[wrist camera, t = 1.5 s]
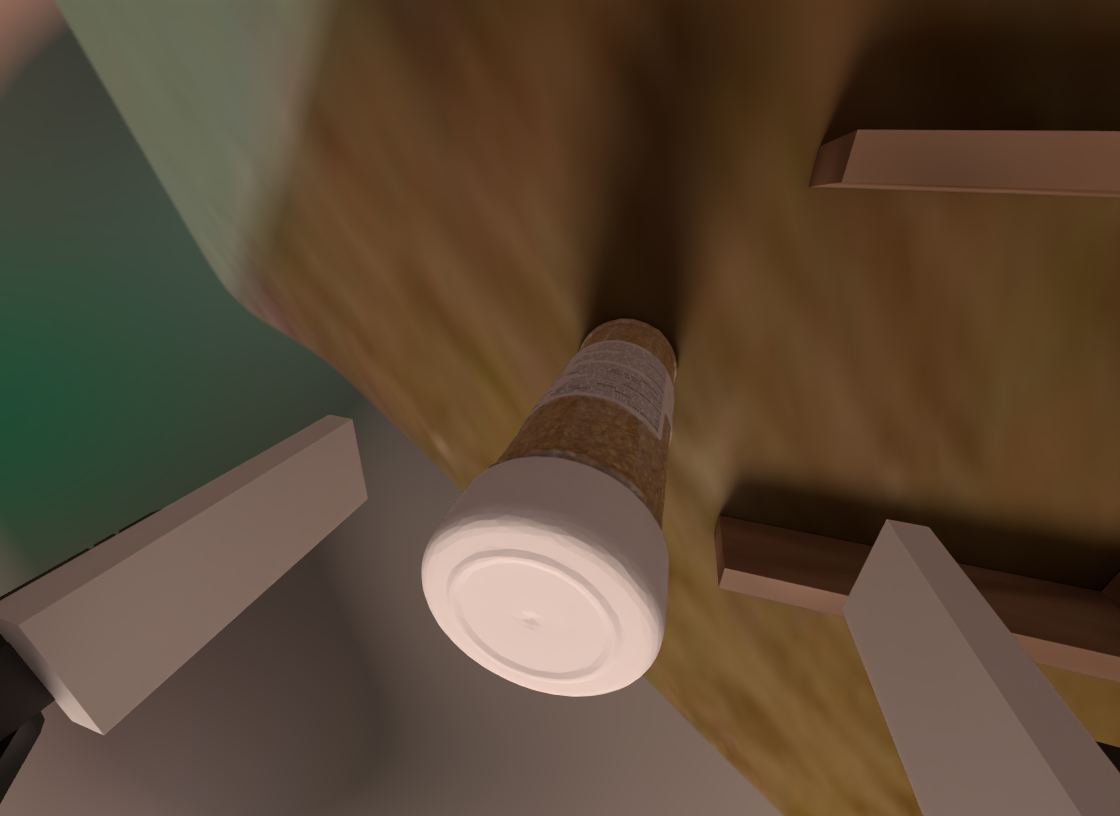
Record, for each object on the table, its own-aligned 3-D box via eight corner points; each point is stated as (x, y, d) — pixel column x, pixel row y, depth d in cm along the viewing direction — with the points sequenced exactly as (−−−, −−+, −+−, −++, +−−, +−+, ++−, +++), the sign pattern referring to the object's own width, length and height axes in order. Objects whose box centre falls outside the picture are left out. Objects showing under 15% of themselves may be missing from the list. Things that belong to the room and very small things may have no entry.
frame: (820, 146, 14) (857, 129, 11) (1565, 156, 10) (1939, 135, 7) (714, 533, 21) (718, 587, 18) (1118, 618, 18) (1207, 702, 15)
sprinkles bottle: (641, 427, 20) (577, 738, 8) (560, 377, 20) (383, 618, 8) (700, 350, 18) (728, 632, 6) (609, 293, 18) (460, 466, 6)
